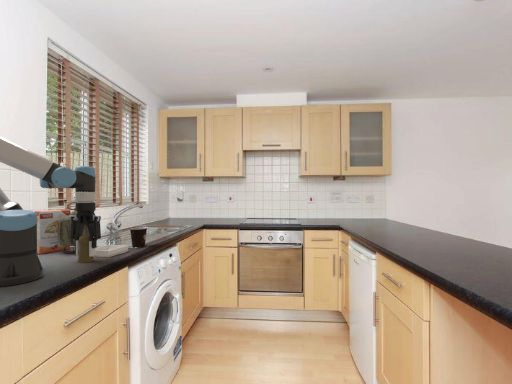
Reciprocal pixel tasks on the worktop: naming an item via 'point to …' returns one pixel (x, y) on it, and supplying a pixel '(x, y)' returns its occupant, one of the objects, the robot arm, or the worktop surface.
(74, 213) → the tabletop clock
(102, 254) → the tray
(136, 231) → the coffee mug
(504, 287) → the worktop surface
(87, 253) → the olive rounded piece
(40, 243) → the cracker box
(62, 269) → the worktop surface
